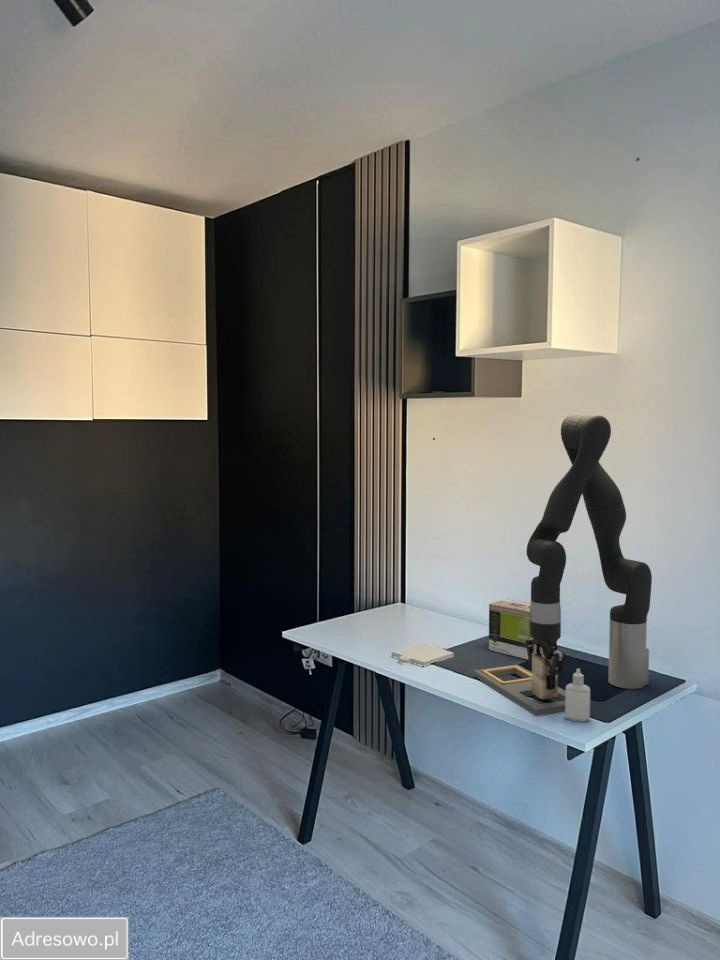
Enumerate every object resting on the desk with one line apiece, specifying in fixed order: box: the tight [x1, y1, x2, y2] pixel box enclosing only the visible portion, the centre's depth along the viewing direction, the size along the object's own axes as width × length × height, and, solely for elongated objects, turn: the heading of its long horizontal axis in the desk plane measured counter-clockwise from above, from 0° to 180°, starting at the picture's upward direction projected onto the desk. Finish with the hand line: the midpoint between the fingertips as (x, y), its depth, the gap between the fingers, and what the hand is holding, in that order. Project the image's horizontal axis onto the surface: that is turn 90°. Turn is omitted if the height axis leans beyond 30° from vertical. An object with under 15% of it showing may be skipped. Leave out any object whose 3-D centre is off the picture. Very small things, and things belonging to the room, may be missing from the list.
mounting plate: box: [391, 642, 455, 666], centre depth 222 cm, size 18×13×2 cm
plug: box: [531, 654, 559, 700], centre depth 186 cm, size 4×4×10 cm
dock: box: [473, 664, 566, 716], centre depth 193 cm, size 14×30×2 cm, turn 21°
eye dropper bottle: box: [564, 668, 591, 723], centre depth 175 cm, size 4×6×12 cm
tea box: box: [488, 598, 533, 661], centre depth 226 cm, size 15×10×15 cm, turn 43°
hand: (544, 685), depth 186 cm, fingers closed on plug, 4 cm apart
